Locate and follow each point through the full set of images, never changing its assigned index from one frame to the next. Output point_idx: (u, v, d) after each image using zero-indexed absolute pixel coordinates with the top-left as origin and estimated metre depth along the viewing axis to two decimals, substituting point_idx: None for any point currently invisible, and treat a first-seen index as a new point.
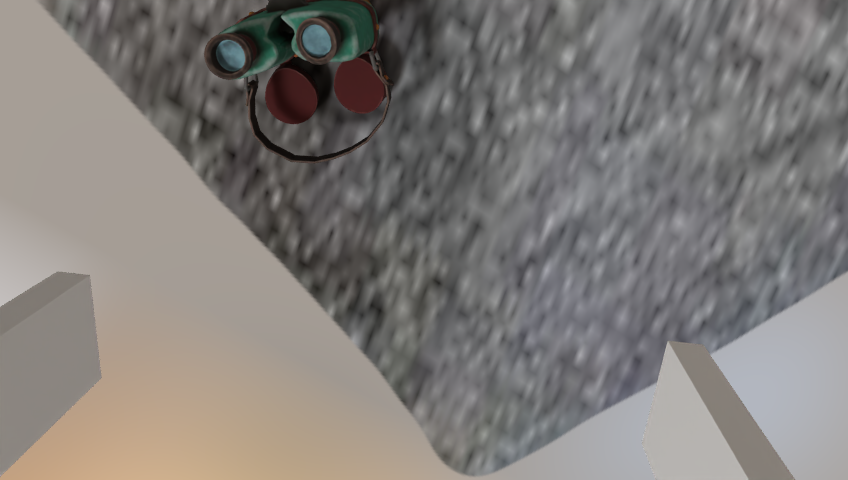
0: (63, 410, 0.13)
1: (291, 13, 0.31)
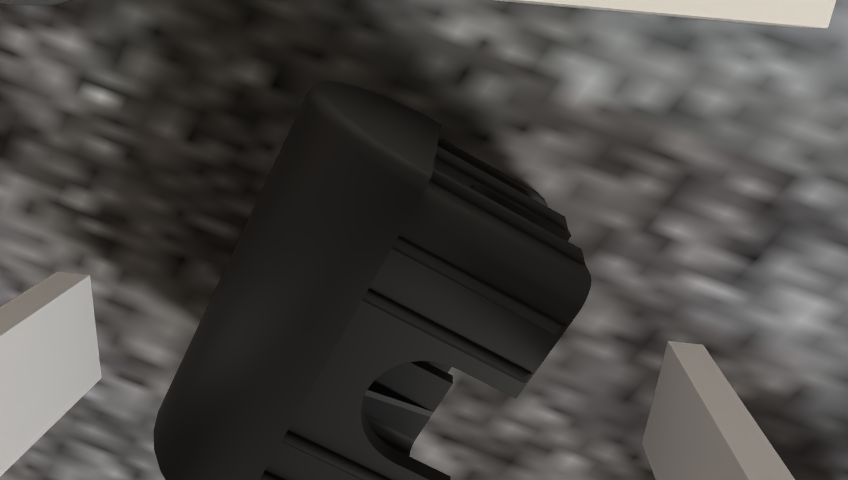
0: (63, 410, 0.13)
1: None
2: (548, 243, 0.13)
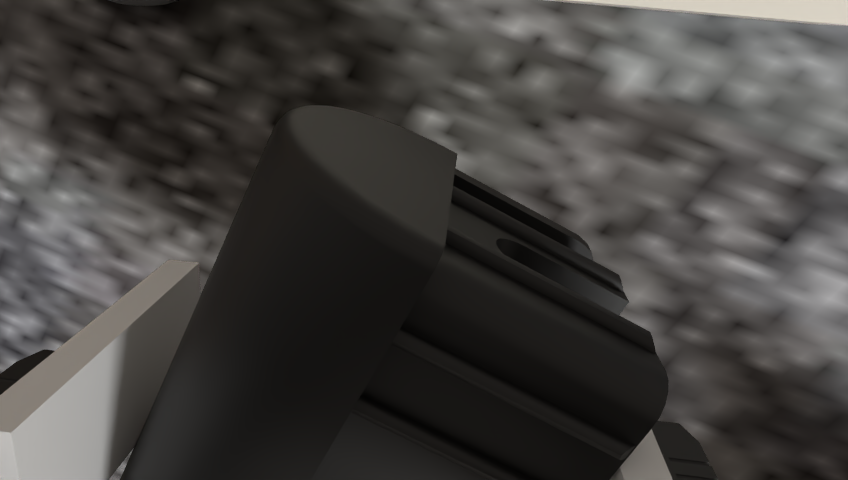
0: None
1: None
2: (604, 324, 0.10)
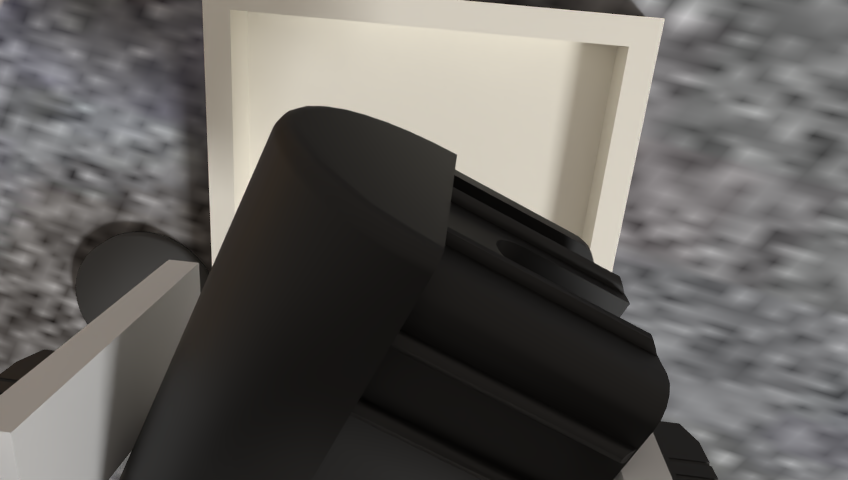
0: None
1: None
2: (605, 327, 0.10)
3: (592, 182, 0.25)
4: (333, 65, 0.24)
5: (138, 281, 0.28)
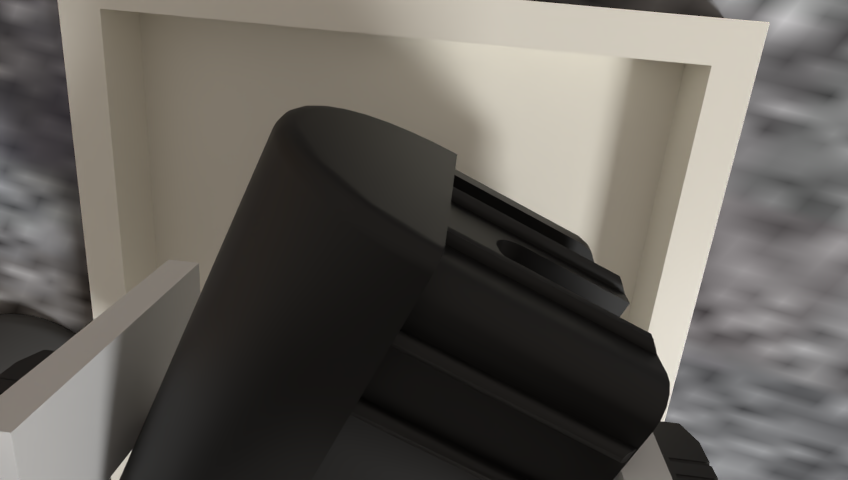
0: None
1: None
2: (605, 327, 0.10)
3: (642, 257, 0.17)
4: (267, 90, 0.17)
5: None
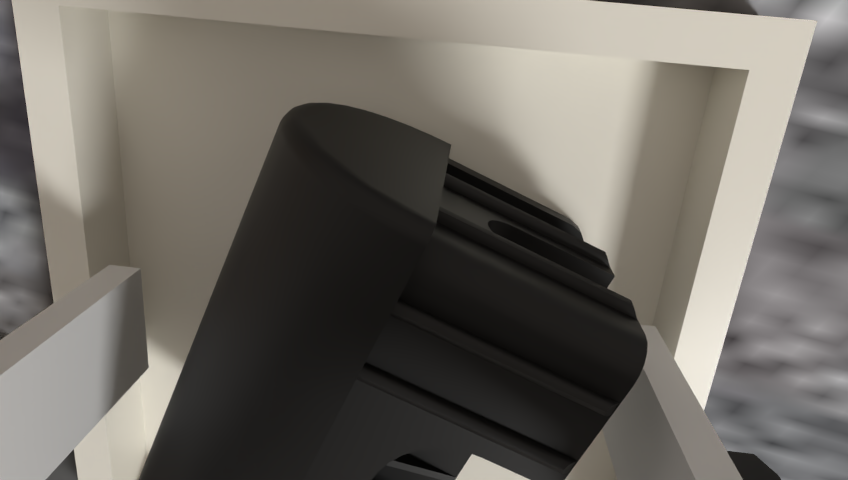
0: (117, 397, 0.14)
1: None
2: (588, 294, 0.11)
3: (665, 280, 0.16)
4: (250, 95, 0.15)
5: None
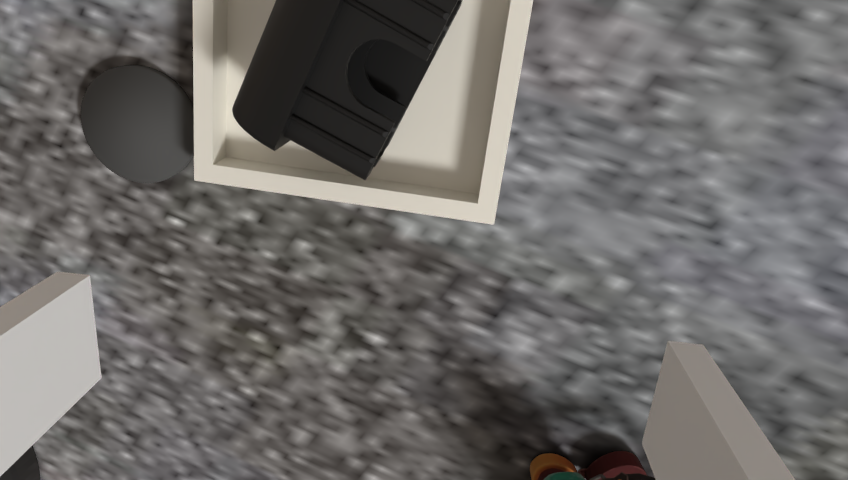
0: (63, 410, 0.13)
1: None
2: None
3: (505, 24, 0.30)
4: None
5: (133, 107, 0.34)
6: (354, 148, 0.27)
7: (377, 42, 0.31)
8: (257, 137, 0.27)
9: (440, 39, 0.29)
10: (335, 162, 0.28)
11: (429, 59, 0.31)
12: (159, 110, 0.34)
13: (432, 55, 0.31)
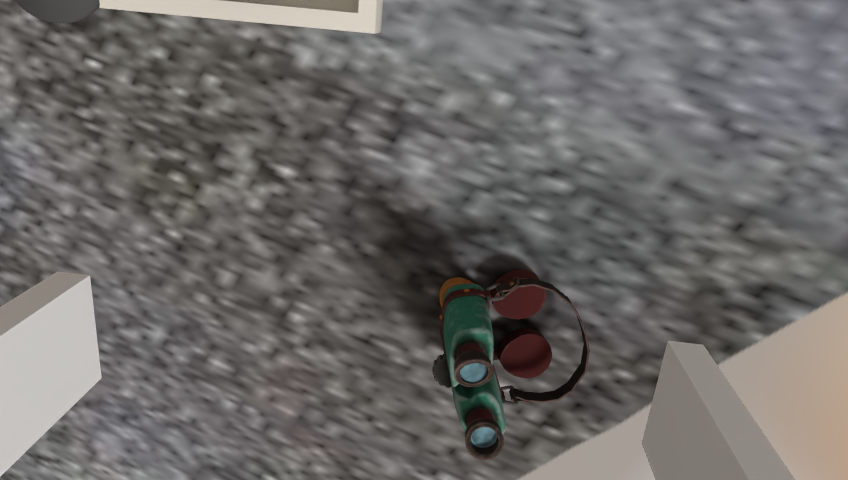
0: (63, 410, 0.13)
1: (451, 378, 0.36)
2: None
3: None
4: None
5: None
6: None
7: None
8: None
9: None
10: None
11: None
12: None
13: None
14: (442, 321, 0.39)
